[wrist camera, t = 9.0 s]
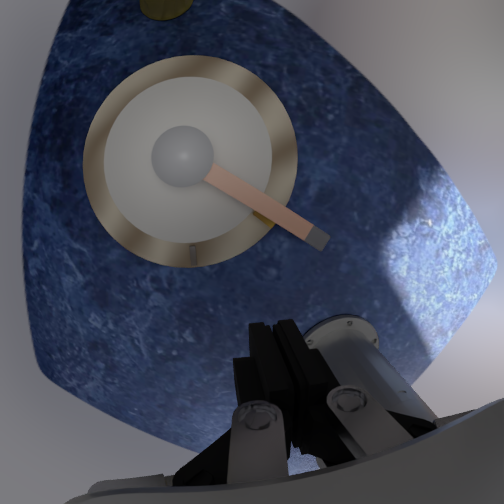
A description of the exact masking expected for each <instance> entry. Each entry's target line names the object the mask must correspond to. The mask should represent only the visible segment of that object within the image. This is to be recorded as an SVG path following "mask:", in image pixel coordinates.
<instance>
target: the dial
mask: <svg viewBox="0 0 504 504" xmlns="http://www.w3.org/2000/svg"><path fill="white" fill-rule="evenodd" d="M271 165H272V148H271V142H270V137H269V134H268V131H267V128H266V125H265V123H264V121H263V119H262V117H261V116H260V114H259V112H258V111H257V109H256V108H255V107H254V106H253V105H252V103H251V102H250V101H249V100H248V99H247V98H246V97H244V96H243V95H242V94H241V93H240V92H238V91H237V90H235V89H234V88H232V87H230V86H228V85H226V84H224V83H222V82H219V81H216V80H212V79H208V78H202V77H179V78H174V79H169V80H166V81H163V82H160V83H157V84H155V85H153V86H151V87H149V88H147V89H146V90H144V91H143V92H141V93H140V94H138V95H137V96H136V97H135V98H133V99H132V100H131V101H130V102H129V103H128V104H127V105H126V106H125V108H124V109H123V110H122V111H121V113H120V114H119V115H118V117H117V118H116V120H115V122H114V124H113V126H112V128H111V130H110V133H109V135H108V138H107V142H106V147H105V152H104V173H105V179H106V184H107V187H108V190H109V193H110V195H111V197H112V199H113V201H114V203H115V205H116V206H117V208H118V209H119V211H120V212H121V213H122V214H123V215H124V217H125V218H126V219H127V220H128V221H129V222H130V223H132V224H133V225H134V226H135V227H137V228H138V229H140V230H141V231H143V232H144V233H146V234H148V235H150V236H152V237H155V238H158V239H161V240H164V241H169V242H174V243H195V242H201V241H206V240H209V239H212V238H215V237H218V236H220V235H222V234H224V233H226V232H228V231H230V230H231V229H233V228H234V227H236V226H237V225H238V224H240V223H241V222H242V221H243V220H244V219H246V217H247V216H248V215H249V214H250V213H251V212H252V211H253V210H255V211H257V212H258V213H260V214H262V215H263V216H265V217H267V218H268V219H270V220H271V221H273V222H275V223H276V224H278V225H280V226H281V227H283V228H284V229H286V230H288V231H289V232H291V233H293V234H294V235H296V236H297V237H299V238H301V239H302V240H304V241H305V242H307V243H308V244H310V245H311V246H313V247H315V248H316V249H318V250H319V251H322V250H323V248H324V247H325V245H326V243H327V242H328V240H329V239H330V237H331V236H329V235H328V234H326V233H325V232H323V231H322V230H320V229H319V228H317V227H316V226H314V225H313V224H311V223H310V222H308V221H307V220H305V219H303V218H302V217H300V216H299V215H297V214H296V213H294V212H293V211H291V210H290V209H288V208H286V207H285V206H283V205H282V204H280V203H279V202H277V201H275V200H274V199H272V198H271V197H269V196H267V195H266V194H264V192H265V189H266V186H267V184H268V181H269V177H270V172H271Z"/></svg>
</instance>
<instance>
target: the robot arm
mask: <svg viewBox="0 0 504 504" xmlns="http://www.w3.org/2000/svg"><path fill="white" fill-rule="evenodd" d="M249 348H250V357H242V358H233V369H234V380H235V388H236V396H237V402H238V407H237V408H236V410H235V411H234V413H233V416H232V425H231V428H230V429H229V430H228V431H227V432H226V433H224V434H223V435H222V436H221V437H220V438H218V439H217V440H216V441H215V442H214V443H212V444H211V445H210V446H209V447H207V448H206V449H205V450H204V451H202V452H201V453H200V454H199V455H197V456H196V457H195V458H194V459H192V460H191V461H190V462H188V463H187V464H186V465H185V466H183V467H182V468H180V469H179V470H178V471H177V472H176V473H175V475H171V476H165V477H164V475H163V474H158V475H152V476H144V477H137V478H128V479H117V480H105V481H100V482H97V483H96V484H94V485H92V486H91V488H90V489H89V490H88V494H85V495H81V496H78V497H75V498H73V499H71V500H69V501H67V502H66V503H65V504H504V398H502V399H499V400H496V401H494V402H491V403H489V404H487V405H484V406H482V407H480V408H478V409H476V410H471V411H467V412H463V413H459V414H455V415H452V416H447V417H443V418H438V417H437V416H436V415H435V414H434V413H433V411H432V410H431V409H430V408H429V407H428V406H427V405H426V403H425V402H424V401H423V400H422V399H421V398H420V397H419V395H418V394H417V393H416V392H415V391H414V390H413V389H412V387H411V386H410V385H409V384H408V383H407V382H406V381H405V379H404V378H403V377H402V376H401V375H400V374H399V373H398V372H397V370H396V369H395V368H394V367H393V366H392V365H391V364H390V363H389V361H388V360H387V359H386V358H385V357H384V356H383V355H382V354H381V353H380V351H379V350H378V349H379V338H378V335H377V332H376V330H375V329H374V327H373V326H372V325H371V324H370V323H369V322H368V321H366V320H365V319H363V318H361V317H359V316H354V315H340V316H335V317H332V318H329V319H327V320H324V321H323V322H321V323H319V324H317V325H316V326H314V327H313V328H312V329H311V330H309V331H308V332H307V333H306V334H305V335H304V336H302V335H301V333H300V331H299V329H298V328H297V326H296V324H295V322H294V321H293V319H288V320H279V321H278V323H277V324H276V325H273V333H272V331H271V328H270V326H269V325H267V326H265V325H264V323H263V322H260V323H250V324H249ZM291 441H292V444H293V447H294V448H298V447H299V449H300V452H301V455H304V454H310V455H313V456H315V457H316V461H317V464H318V466H319V467H320V469H319V470H315V471H310V472H305V473H301V474H296V475H291V476H289V474H288V464H287V460H288V459H289V458H290V448H291Z"/></svg>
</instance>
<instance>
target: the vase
mask: <svg viewBox="0 0 504 504" xmlns="http://www.w3.org/2000/svg"><path fill="white" fill-rule="evenodd" d="M192 2H193V0H140V8H141V11H142V12H143V14H144V15H146V16H147V17H149V18H151V19H154V20H168V19H172V18H175V17H178V16H180V15H181V14H183V13H184V12H185V11H186V10H188V9H189V7H190V6H191V4H192Z"/></svg>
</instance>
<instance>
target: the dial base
mask: <svg viewBox="0 0 504 504" xmlns="http://www.w3.org/2000/svg"><path fill="white" fill-rule="evenodd" d="M179 77H202V78H208V79H212V80H216V81H219V82H222V83H224V84H226V85H228V86H230V87H232V88H234V89H235V90H237V91H238V92H240V93H241V94H242V95H243V96H244V97H246V98H247V99H248V100H249V101H250V102H251V103H252V105H253V106H254V107H255V108H256V109H257V111H258V112H259V114H260V116H261V117H262V119H263V121H264V123H265V125H266V128H267V131H268V134H269V137H270V142H271V148H272V165H271V172H270V177H269V181H268V184H267V186H266V189H265V192H264V194H266V195H267V196H269V197H271V198H272V199H274V200H275V201H277V202H279V203H280V204H282V205H283V206H285V207H286V205H287V203H288V201H289V198H290V195H291V193H292V190H293V187H294V182H295V178H296V173H297V160H298V159H297V144H296V138H295V133H294V130H293V127H292V124H291V121H290V118H289V116H288V114H287V112H286V110H285V108H284V106H283V105H282V103H281V102H280V100H279V99H278V97H277V96H276V94H275V93H274V92H273V91H272V90H271V89H270V88H269V87H268V85H267V84H265V83H264V82H263V81H262V80H261V79H260V78H258V77H257V76H256V75H254V74H253V73H251V72H250V71H248V70H246V69H245V68H243V67H241V66H239V65H236V64H234V63H232V62H229V61H226V60H223V59H219V58H214V57H208V56H192V55H190V56H179V57H173V58H169V59H165V60H161V61H158V62H155V63H153V64H150V65H148V66H146V67H144V68H142V69H140V70H138V71H137V72H135V73H133V74H132V75H131V76H129V77H128V78H126V79H125V80H124V81H123V82H122V83H120V84H119V85H118V86H117V87H116V88H115V89H114V90H113V91H112V92H111V93H110V95H109V96H108V97H107V98H106V99H105V101H104V102H103V104H102V105H101V107H100V108H99V110H98V111H97V113H96V115H95V117H94V119H93V121H92V124H91V126H90V129H89V132H88V135H87V138H86V143H85V148H84V156H83V173H84V182H85V187H86V191H87V195H88V198H89V201H90V203H91V206H92V208H93V210H94V212H95V214H96V216H97V218H98V219H99V221H100V222H101V224H102V225H103V226H104V228H105V229H106V230H107V232H108V233H109V234H110V235H111V236H112V237H113V238H114V239H115V240H116V241H117V242H119V243H120V244H121V245H122V246H123V247H125V248H126V249H128V250H129V251H131V252H132V253H134V254H136V255H137V256H140V257H142V258H144V259H146V260H148V261H151V262H155V263H158V264H161V265H166V266H172V267H186V268H191V267H202V266H207V265H212V264H216V263H219V262H222V261H225V260H228V259H231V258H232V257H234V256H236V255H238V254H240V253H242V252H244V251H245V250H247V249H248V248H250V247H251V246H253V245H254V244H255V243H257V242H258V241H259V240H260V239H261V238H262V237H263V236H265V235H266V233H267V232H268V231H269V230H270V229H272V227H273V226H274V225H275V222H273V221H271V220H270V219H268V218H267V217H265V216H263V215H262V214H260V213H258V212H257V211H255V210H253V211H252V212H251V213H250V214H249V215H248V216H247V217H246V219H244V220H243V221H242V222H241V223H240V224H238V225H237V226H236V227H234V228H233V229H231V230H230V231H228V232H226V233H224V234H222V235H220V236H218V237H215V238H212V239H209V240H206V241H201V242H195V243H174V242H169V241H164V240H161V239H158V238H155V237H152V236H150V235H148V234H146V233H144V232H143V231H141V230H140V229H138V228H137V227H135V226H134V225H133V224H132V223H130V222H129V221H128V220H127V219H126V218H125V217H124V215H123V214H122V213H121V212H120V211H119V209H118V208H117V206H116V205H115V203H114V201H113V199H112V197H111V195H110V193H109V190H108V187H107V184H106V179H105V173H104V152H105V147H106V142H107V138H108V135H109V133H110V130H111V128H112V126H113V124H114V122H115V120H116V118H117V117H118V115H119V114H120V113H121V111H122V110H123V109H124V108H125V106H126V105H127V104H128V103H129V102H130V101H131V100H132V99H133V98H135V97H136V96H137V95H138V94H140V93H141V92H143V91H144V90H146V89H147V88H149V87H151V86H153V85H155V84H157V83H160V82H163V81H166V80H169V79H174V78H179Z"/></svg>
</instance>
